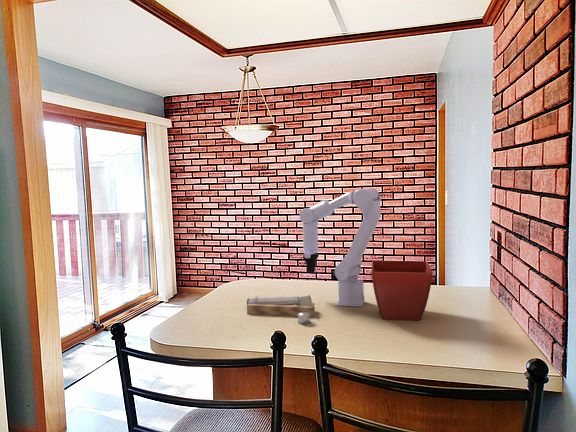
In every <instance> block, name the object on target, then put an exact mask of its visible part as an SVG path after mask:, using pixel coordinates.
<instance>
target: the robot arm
mask: <svg viewBox="0 0 576 432" xmlns="http://www.w3.org/2000/svg"><path fill="white" fill-rule="evenodd" d="M381 200H382V197H381V194H380V192H379V191H378V190H377V189H376V188H374V187H368V188H357V189H355V190H352V191H349V192H346V193H344V194H342V195H341V196H339V197H337V198H335V199H333V200H328V199H326V200H325V199H322V200H320V201H319V203H317V204H312V205H310V207H307V208H306V207H305V208H303V209H302V210H301V211H300V212H299V220H300V221H301V222H302V241H303V242H302V244H303V249H300V252H301V253H303V254H304V255H303V256H302V258H303V261H304V262H305V264H306V268H307V269H306V270H307V273H308V274H315V271H316V267H317V266H316V265H317V261H318V258H319V255H320V254H318V253H319V251H320V250H319V239H318V238H319V237H318V236H319V235H318V234H319V232H318V231H319V229H318V228H319V227H318V226H319V225H318V224H319V221H320V220H321V219H323V218H326V217H328V216H331V215H332V214H333V213H334V211H335V210H336V209H339V208H342V207H343V206H346V205H348V204H352V205H353V204H354V205H355V206H356V207H357V208H358V210H359V211H360V212H361V213H362V216H363V219H362V221H361V223H360V225H359V227H358V229H357V232H356V234H355V236H354V238H353V241H352V242H351V245H350V248H349V249H348V251H347V254H346V255H345V256H344V257H343V258H342V260H341V261H340V263H339V264H337V265H336V266H335V268H334V275H335V277H336V279H337V280H338V282H337V283H338V300H337V303H336V306H342V307H344V306H345V307H363V306H364V303H365V293H364V292H365V291H364V289H365V288H364V280H362V279H359V278H358V276H359V275H360V274H361V271H362V263H363V260H362V258H363V255H364V253H365V252H366V249H367V247H368V244H369V242H370V241H371V238H372V236H373V234H374V231H375V230H376V227H377V226H378V223H379V222H380V219H381Z"/></svg>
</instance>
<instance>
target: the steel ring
mask: <svg viewBox="0 0 576 432" xmlns="http://www.w3.org/2000/svg"><path fill="white" fill-rule="evenodd" d="M297 323H298V324H300V325H309V324H311V316H310V313H309V312H300V313H298V316H297Z"/></svg>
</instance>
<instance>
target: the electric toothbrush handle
mask: <svg viewBox="0 0 576 432" xmlns="http://www.w3.org/2000/svg"><path fill="white" fill-rule="evenodd" d="M248 304H268V305H293V306H315V305H316V304H315V302H314V301H312V297H311V295H310V294H307V293H306V294H300V295H298V296H297V295H296V296H261V297H260V296H259V295H258V296H257V295H256V297H248V298H247V299H246V306H247V305H248Z"/></svg>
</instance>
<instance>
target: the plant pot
mask: <svg viewBox="0 0 576 432" xmlns="http://www.w3.org/2000/svg"><path fill="white" fill-rule="evenodd" d="M370 273H371V274H370V275H371V281H372V285H373V286H372V287H373V293H374V297H375V300H376V301H375V302H376V304H377V308H378V311H379V315H380V317H381V319H383V320H400V321H403V320H404V321H421V320H422V319H423V316H424V313H425V310H426V307H427V305H428V300H429V297H430V292H431V287H432V281H433V280H432V279H433V273H434V272H433V271H432V269H431V267H430V265H429V263H428V261H426V260H425V261H424V260H372V261H371V271H370Z"/></svg>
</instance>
